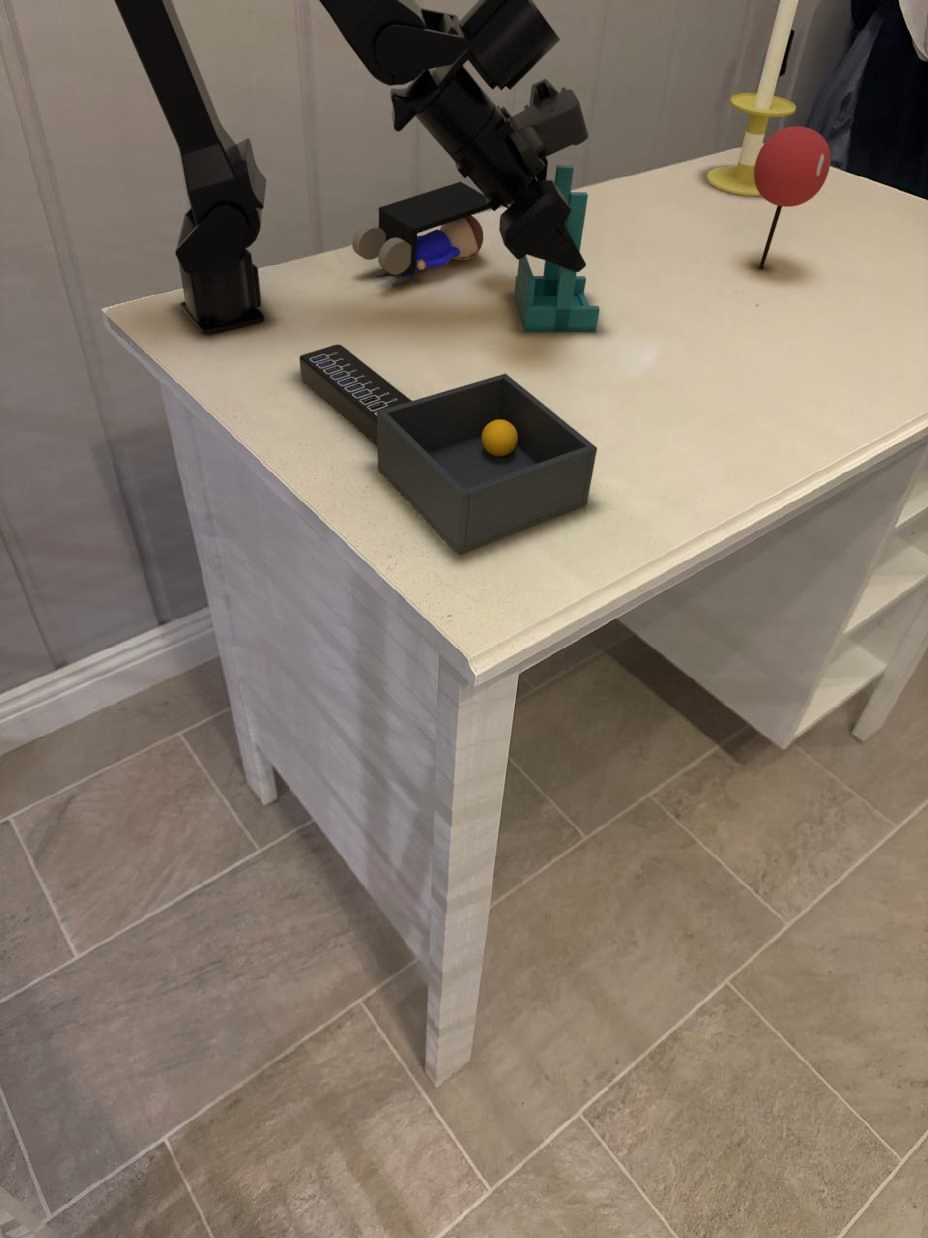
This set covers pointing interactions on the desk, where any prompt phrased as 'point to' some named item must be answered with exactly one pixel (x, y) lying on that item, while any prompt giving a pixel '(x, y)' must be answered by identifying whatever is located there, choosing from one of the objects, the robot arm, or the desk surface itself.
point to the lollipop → (790, 170)
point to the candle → (759, 110)
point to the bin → (483, 462)
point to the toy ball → (499, 438)
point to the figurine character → (419, 214)
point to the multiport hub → (349, 387)
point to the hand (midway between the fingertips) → (574, 251)
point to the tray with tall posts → (557, 279)
